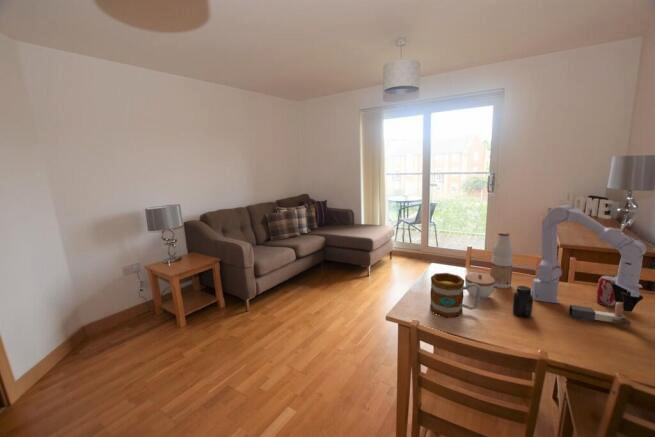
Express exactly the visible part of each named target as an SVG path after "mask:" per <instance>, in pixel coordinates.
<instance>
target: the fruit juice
mask: <svg viewBox="0 0 655 437" xmlns="http://www.w3.org/2000/svg"><path fill="white" fill-rule="evenodd" d="M497 236H498V239H497V241H496V242H495V243H494V245H493V246H492V256H491V262H490V275H489V276H491V277H493V278H494V279H495V284H494V288H497V289H509V288H511V286H512V278H513V277H512V275H513V265H514V260H513V255H514V252H515V251H514V248H513V246H512V242H511V241H510V236H511V233H510V232H507V231H499V232H498V235H497Z"/></svg>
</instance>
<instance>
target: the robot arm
mask: <svg viewBox="0 0 655 437" xmlns="http://www.w3.org/2000/svg"><path fill="white" fill-rule="evenodd" d="M564 221H566V222H572V223H573V222H574V223H579V224H581V225H582V226H583V227H585V228H588V229H589V230H591V231H592V232H594V233H596V234H598V236H599V239H600V240H601V241H603V242H605V243H606V244H608V245H609V246H611V247H613V249H616V250H618V251H619V254H620V256H621V257H620V260H619V265H618V269H617V276H616V275H615V276H614V277H615V283H612V282H611V283H610V284H611V286H612V288H613V292H614V299H615V301H616V302H619V303H623V312H630V313H632V312H633V311H634V308H635V307H636V306H637V304H638V303H639V302H640V301H642V300H643V299H644V297H643V296H642V295H641V291H640V289H643V286H642V284H639V283H640V282H639V281H640V279H641V278H640V276H641V273H642V267H643V260H644V259H643V258H644V255H645V254H646V253H647V250H648V247H647V246H646V244H645V243H643V241H640V240H638V239H637V240H635V238H633V237H629V236H627V235H626V234H625V233H622V232H621V231H622V230H621V229H619V228H618V227H617V228H614V227H606V226H604V225H603V224H601V223H600V222H599V221H597V220H595V219H594V218H593V217H591V216H589V215H588V214H586V213H585V212H583V211H582V210H581V209H580V208H578V207H576V206H574V205H572V204H568V203H567V204H563V205H560V206H554V207H552V208H551V209H549V210H547V213H546V215H545V217H544V218H543V219H542V220H541V255H542V256H541V257H542V258H541V261H540V263H539V266H538V270H537V271H536V277H537V278H532V284H531V295H532V296H533V301H539V302H544V303H545V302H547V303H553V304H560V301H559V299H558V290H559V283H560V282H559V280H560V279H559V278H561V277H562V275H563V269H562V268H561V264H560V262H559V261H558V251H557V250H558V236H557V234H558V229H557V227H558V226H559V225H560V224H562V223H563V222H564Z"/></svg>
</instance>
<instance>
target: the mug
mask: <svg viewBox="0 0 655 437" xmlns="http://www.w3.org/2000/svg"><path fill="white" fill-rule="evenodd" d="M430 286H431V287H430V305H429V309H430V308H431V309H430V311H431V310H432V311H433V312H434V313H433V312H432V311H431V312H432V313H433V315H435V314H437V315H436V316H438V315H440V316H439V317H441V316H442V317H441V318H444V319H457V318H460V316H462V314H463V312H464V311H463V308H464V309H469V310H476V308H477V307H478V306H479V300H480V299H479V294H480V288H479V285H477V284H475V283H470V284H468V285H467V286H466V285H465V278H464V279H463V278H462V277H461V276H460V275H458V274H453V273H450V272H442V273H441V272H440V273H439V272H438V273H437V272H436V273H434V274H433V275H431V276H430ZM471 286H475V287H477V294H476V298H475V302H474V305H469V304H465V303H464V302H463V301H464V290H466V291H467V289H468V288H470V287H471Z"/></svg>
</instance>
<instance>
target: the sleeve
mask: <svg viewBox="0 0 655 437" xmlns="http://www.w3.org/2000/svg"><path fill="white" fill-rule="evenodd" d="M595 311H596V310H594V308H593V307H589V306H581V305H576V304H575V305H574V304H569V310H568V314H569V316H570V318H571V319H573V320H580V321H587V322H591V323H592V322H595V320H594V319H595Z"/></svg>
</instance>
